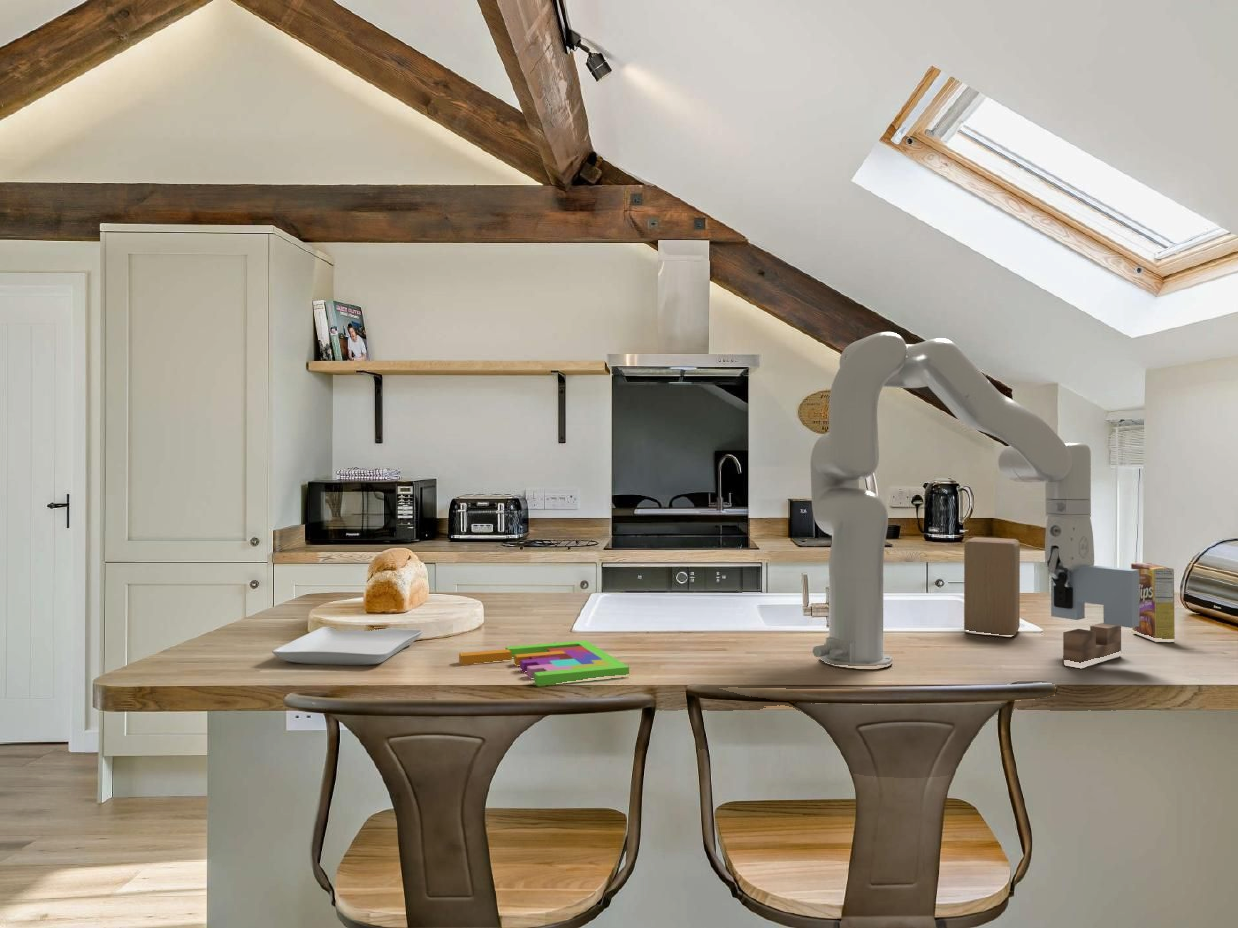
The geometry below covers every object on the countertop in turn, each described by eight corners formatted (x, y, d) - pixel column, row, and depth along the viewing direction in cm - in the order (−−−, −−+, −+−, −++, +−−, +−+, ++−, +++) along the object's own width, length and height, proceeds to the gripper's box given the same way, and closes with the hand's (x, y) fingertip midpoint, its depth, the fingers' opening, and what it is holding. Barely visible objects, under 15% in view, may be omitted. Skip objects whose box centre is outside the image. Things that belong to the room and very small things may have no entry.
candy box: (1129, 634, 177) (1130, 562, 177) (1151, 634, 176) (1151, 562, 176) (1153, 643, 168) (1153, 567, 168) (1175, 643, 167) (1175, 568, 167)
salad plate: (385, 671, 145) (385, 652, 145) (269, 668, 147) (269, 649, 147) (424, 645, 166) (424, 627, 166) (322, 642, 168) (322, 625, 168)
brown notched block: (1080, 669, 146) (1080, 635, 146) (1063, 665, 148) (1063, 632, 148) (1121, 656, 155) (1121, 624, 155) (1104, 653, 158) (1104, 622, 158)
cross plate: (1132, 627, 145) (1131, 570, 145) (1051, 616, 157) (1051, 563, 157) (1139, 625, 147) (1139, 569, 147) (1058, 614, 158) (1058, 562, 158)
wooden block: (970, 626, 185) (970, 536, 185) (1020, 630, 180) (1020, 538, 180) (963, 633, 176) (963, 540, 176) (1015, 639, 171) (1015, 542, 171)
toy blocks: (585, 652, 161) (456, 662, 152) (585, 640, 161) (456, 650, 152) (629, 680, 140) (482, 695, 131) (629, 667, 140) (482, 680, 131)
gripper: (1067, 511, 148) (1067, 614, 148) (1109, 508, 157) (1109, 604, 157) (1025, 509, 154) (1026, 608, 154) (1068, 506, 163) (1068, 599, 163)
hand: (1068, 605), depth 156 cm, fingers closed on cross plate, 3 cm apart
